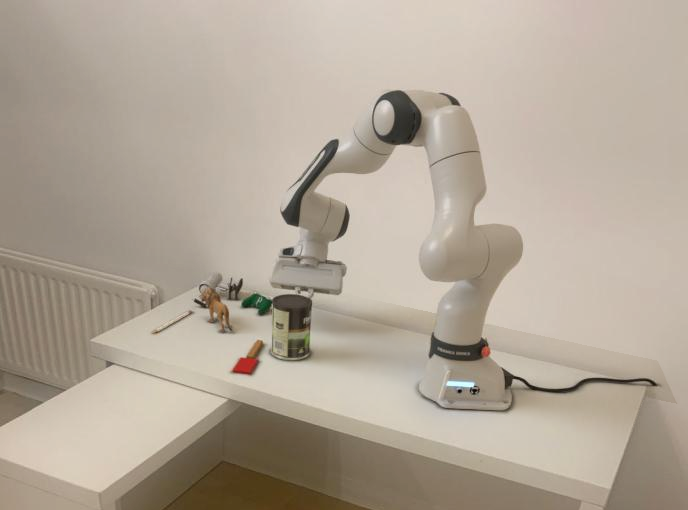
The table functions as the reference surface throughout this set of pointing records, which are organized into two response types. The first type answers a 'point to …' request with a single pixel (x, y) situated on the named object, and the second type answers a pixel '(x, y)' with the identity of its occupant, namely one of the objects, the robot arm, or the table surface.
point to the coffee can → (291, 326)
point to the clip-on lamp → (215, 282)
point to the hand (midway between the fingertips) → (302, 304)
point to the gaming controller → (258, 302)
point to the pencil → (172, 321)
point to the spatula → (248, 360)
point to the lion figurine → (216, 307)
